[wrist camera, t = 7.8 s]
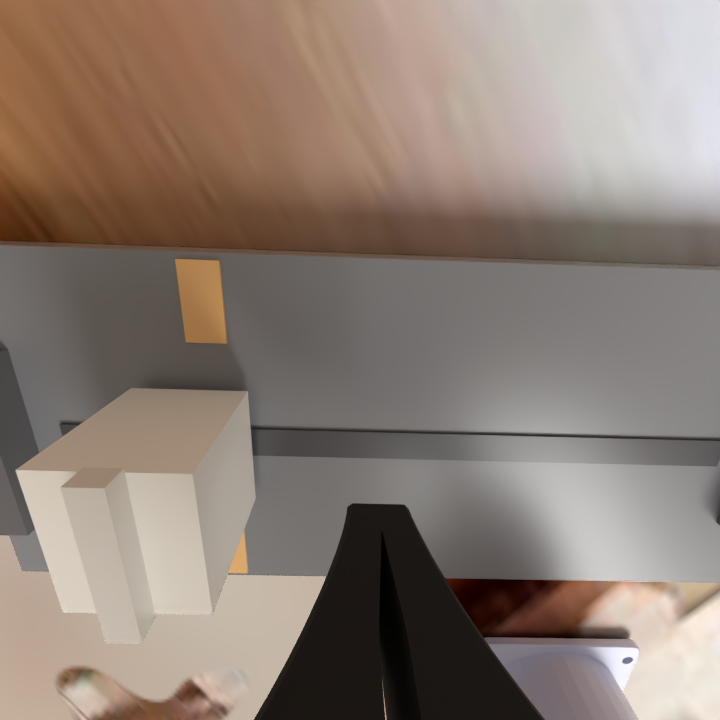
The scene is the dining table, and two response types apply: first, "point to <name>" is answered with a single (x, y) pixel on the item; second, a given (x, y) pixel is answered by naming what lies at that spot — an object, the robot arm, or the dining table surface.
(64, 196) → the dining table surface
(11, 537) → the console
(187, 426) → the fader knob
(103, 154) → the dining table surface
